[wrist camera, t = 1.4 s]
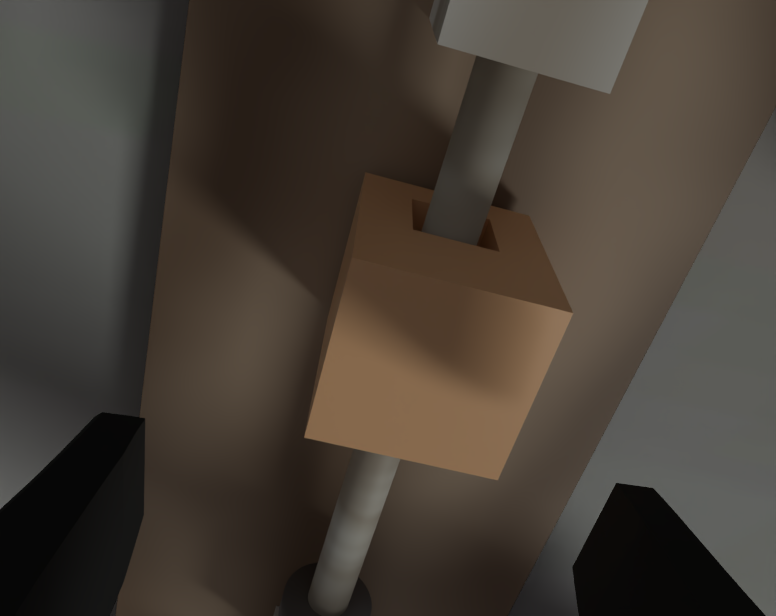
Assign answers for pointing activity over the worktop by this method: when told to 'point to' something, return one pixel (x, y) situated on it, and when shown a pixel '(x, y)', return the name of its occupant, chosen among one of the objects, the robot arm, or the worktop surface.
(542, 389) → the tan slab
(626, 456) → the worktop surface
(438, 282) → the sleeve
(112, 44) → the worktop surface
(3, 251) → the worktop surface
